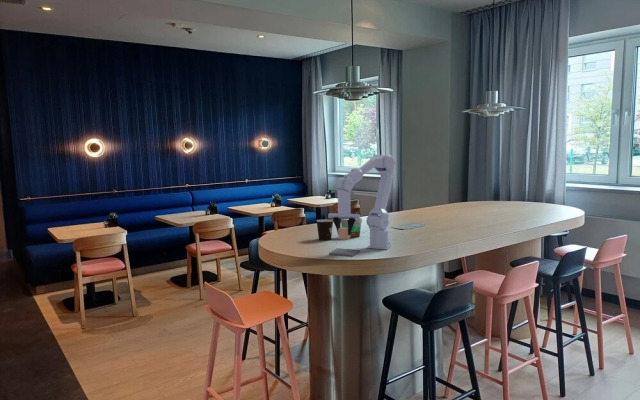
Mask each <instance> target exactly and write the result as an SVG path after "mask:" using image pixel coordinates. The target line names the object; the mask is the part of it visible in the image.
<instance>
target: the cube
mask: <svg viewBox="0 0 640 400" xmlns="http://www.w3.org/2000/svg"><path fill="white" fill-rule="evenodd" d="M337 235H338V236H337V239H338V240H339V239H340V240H348V239H351V238H350V235H348V228H342V227H341V228H339V229H338V233H337Z"/></svg>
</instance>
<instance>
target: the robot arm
mask: <svg viewBox="0 0 640 400" xmlns="http://www.w3.org/2000/svg"><path fill="white" fill-rule="evenodd" d="M395 163H396V161H395V159H394V158H393V155H391V154H374V155H373V156H371V157H370V158H369V159H368V161H366V162H365V163H364V164H363V165H362V166H360V167H359V168H352V169H350V172H348V173H346V174H344V175H343V177H339V178H337V179H336V181H335V183H334V186H335V187H334V188H335V189H336V193H337V213H336V212H335V213H334V212H333V213H332V212H331V213H330V212H329V213H328V216H327V217H328V219H332V220H333V225H334V226H335V229H336V233H337V234H338V229H339V228H341V219H346V220H347V221H348V235H351V231H352V228H353V225H354V223H355V221H356V219H361V214H360V213H359V214H357V213H352V212H351V211H352V209H351V202H352V201H351V199H352V198H351V191H352V190H353V188H354V186H355V185H356V184H357V183H358V182H359V181H361V180H363V177H364V175H365V174H367V173H369V172H370V171H371V170H373V169H375V170H376V171H377V172H378V173H379V175H380V180H379V186H378V189H377V194H376V198H375V202H374V207H373V208H372V209H370V211H369V213H368V215H367V217H366V225H367V226H368V229H369V246H366V247H367V249H375V250H376V249H377V250H388V249H389V248H390V247H391V230H390V229H387V228H388V226H389V224H390V223H389V221H390V220H389V217H390V214H389V212H388V211H387V205H388V201H389V198H390V193H391V192H390V191H391V187H392V183H393V178H394V170H395V169H394V168H395Z"/></svg>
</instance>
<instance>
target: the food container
mask: <svg viewBox="0 0 640 400" xmlns="http://www.w3.org/2000/svg"><path fill="white" fill-rule="evenodd" d="M347 220H348V219H345V218H341V227H342V228H348V221H347ZM362 223H363V219H362V218H360V219H356V221H355V223H354V225H353V228H352V231H351V235H350V238H349V239H357V238H360V237H361V227H362Z"/></svg>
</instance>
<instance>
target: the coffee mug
mask: <svg viewBox="0 0 640 400" xmlns="http://www.w3.org/2000/svg"><path fill="white" fill-rule="evenodd" d="M333 225H334V222H333V219H316V227H317V235H318V241H323V242H324V241H325V242H327V241H331V240H332V235H333Z"/></svg>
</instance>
